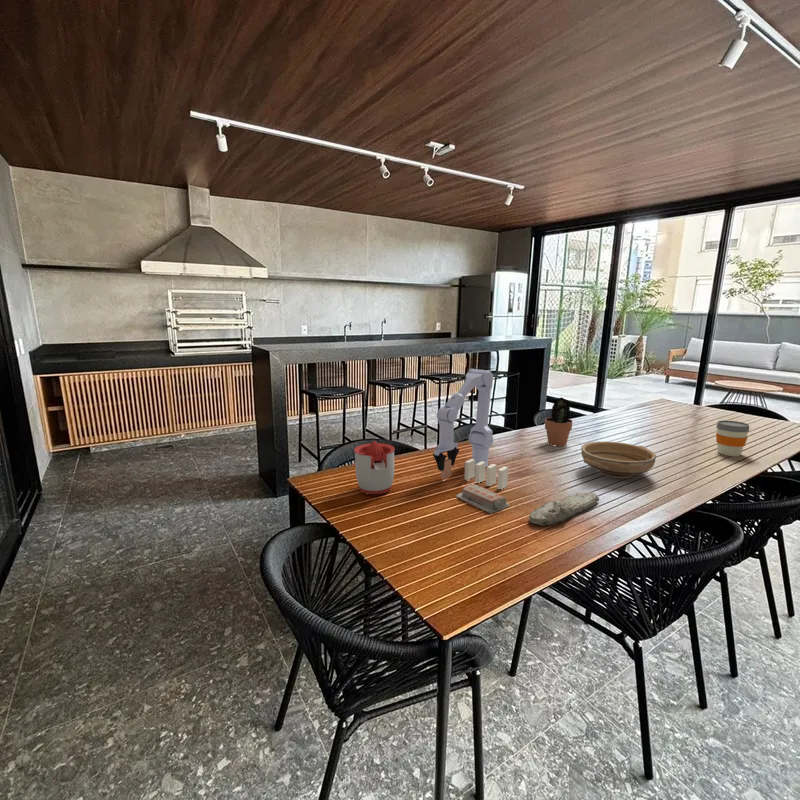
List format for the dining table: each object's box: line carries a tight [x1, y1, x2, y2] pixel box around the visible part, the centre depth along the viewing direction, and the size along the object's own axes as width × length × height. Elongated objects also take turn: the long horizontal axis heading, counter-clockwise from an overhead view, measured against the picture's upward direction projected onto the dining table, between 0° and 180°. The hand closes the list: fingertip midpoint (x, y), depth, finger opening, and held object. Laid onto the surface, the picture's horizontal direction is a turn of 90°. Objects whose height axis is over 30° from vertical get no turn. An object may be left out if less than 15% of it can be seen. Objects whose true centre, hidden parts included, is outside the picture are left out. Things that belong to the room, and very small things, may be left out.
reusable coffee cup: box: [715, 420, 750, 457], centre depth 207 cm, size 13×13×15 cm
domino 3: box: [474, 461, 486, 484], centre depth 175 cm, size 2×5×8 cm, turn 140°
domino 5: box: [496, 466, 509, 491], centre depth 169 cm, size 2×5×8 cm, turn 140°
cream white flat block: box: [464, 458, 475, 480], centre depth 178 cm, size 2×5×8 cm, turn 140°
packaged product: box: [455, 482, 510, 514], centre depth 157 cm, size 18×5×10 cm
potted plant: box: [544, 397, 573, 447], centre depth 224 cm, size 14×14×25 cm
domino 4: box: [485, 463, 498, 487], centre depth 172 cm, size 2×5×8 cm, turn 140°
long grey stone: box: [528, 492, 600, 527], centre depth 148 cm, size 35×5×10 cm
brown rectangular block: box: [440, 458, 452, 480], centre depth 179 cm, size 2×5×8 cm, turn 140°
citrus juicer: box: [353, 440, 396, 495], centre depth 166 cm, size 16×17×20 cm
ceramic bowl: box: [580, 441, 657, 479], centre depth 183 cm, size 37×29×10 cm
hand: (446, 467), depth 178 cm, fingers open, 7 cm apart
